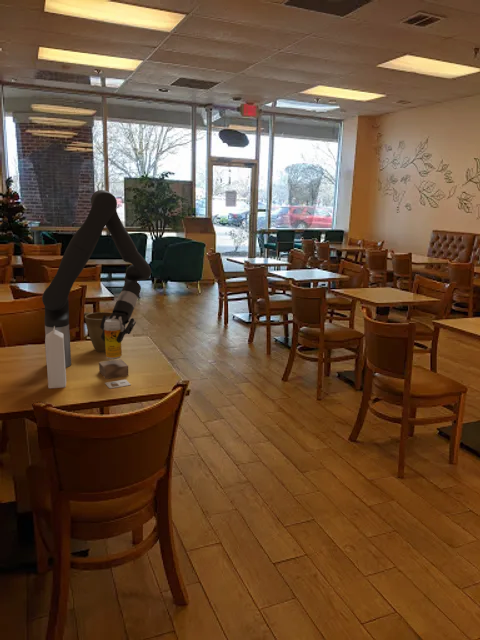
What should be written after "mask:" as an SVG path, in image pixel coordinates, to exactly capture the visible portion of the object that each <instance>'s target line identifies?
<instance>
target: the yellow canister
mask: <svg viewBox="0 0 480 640" xmlns="http://www.w3.org/2000/svg"><path fill="white" fill-rule="evenodd" d="M104 329H105V349H106V351H105V357H106V358H107V359H108V360H119V359H121V357H122V355H123V354H122V341H121V342H120V343H118V342H117V337H118V335H119V333H120V332H121V330H120V329H121V325H120V321H119V320H118V319H108V320H105V323H104Z"/></svg>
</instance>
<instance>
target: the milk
mask: <svg viewBox="0 0 480 640" xmlns="http://www.w3.org/2000/svg"><path fill="white" fill-rule="evenodd" d="M44 338H45V339H44V341H45V342H44V345H45V344H46V350H45V360H46V359H47V364H46V368H47V369H46V370H47V371H46V372H47V373H46V374H47V386H48V387H47V388H48V389H58V388H59V389H60V388H66V387H67V371H66V368H67V367H65V351H64V334H63V333H61V332H59V331H57V330H55V326H54V329H53V331H51V332H50V333H48V334H46V335H45V337H44Z"/></svg>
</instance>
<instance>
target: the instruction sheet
mask: <svg viewBox="0 0 480 640" xmlns="http://www.w3.org/2000/svg"><path fill="white" fill-rule="evenodd" d="M104 385H106V387H107V388H108V389H110V390H111V389H116V388H117V389H118V388H123V387H129V386H131V383H130V382H129V381H128V380H127V378H126V379H120V380H114V381H108V382H104Z"/></svg>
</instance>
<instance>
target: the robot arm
mask: <svg viewBox="0 0 480 640" xmlns="http://www.w3.org/2000/svg"><path fill="white" fill-rule="evenodd" d="M90 205H91V207H90V210H89V213H88V215H87V217H86V219H85V221H84V223H82V225H81V226H80V227H79V228H78V230H77V231H76V232H75V233H74V234H73V236H72V238H71V239H70V241H69V243H68V244H67V246H66V249H65V250H64V253H63V256H62V258H61V260H60V263H59V266H58V269H57V272H56V274H55V275H54V277H53V279H52V280H51V282H50V284H49V285H48V287H46V288H45V290H44V291H43V293H42V296H41V298H42V299H41V301H42V303H43V306H44V332H45V336H46V334H48V333H50V332H51V331H53V329H54V326H55V330H57V331H59V332H61V333H63V334H64V351H65V368H67V367H70V366H71V365H72V354H71V353H72V352H71V351H72V350H71V336H70V334H71V333H70V307H69V306H70V305H69V304H70V303H69V302H70V301H69V295H70V293H71V290H72V288H73V285H74V284H75V282H76V280H77V279H78V277H79V276H80V274H81V273H82V271H83V270H84V268H86V265H87V263H88V262H89V260H90V258H91V257H92V255H93V252H94V251H95V248H96V246H97V243H98V242H99V239H100V237H101V234H102V232H103V231H104V229H105V227H106V228H107V231H108V233H109V234H110V236H111V239H112V241H113V242H114V245H115V247H116V249H117V251H118V253H119V255H120V257H121V259H122V260H123V262H125V263H130V264H131V265H129V266H128V267H127V268H126V270H125V274H124V285H123V286H122V289H121V292H120V293H119V295H118V297H117V300H116V302H115V304H114V305H113V309H112V312H111V313H112V315H111V316H106V315H104V316H103V319H102V322H101V326H100V328H101V329H102V330H103V333H102V335H101V339H102V340H103V341H105V329H104V323H105V320H108V319H118V320H119V321H120V325H121V329H120V330H121V332H120V333H119V335H118V337H117V342H118V343H120V342H121V343H122V341H123V339H124V337H125V335H127V334H128V335H130V334H131V332H132V331H133V329H134V327H135V325H136V323H137V321H136V320H135V319H134V318H133V317H132V315H133V313H134V309H135V307H136V305H137V303H138V299H139V295H140V293H141V290H142V285H141V284H140V283H139V282H140V281H145V280H149V279H150V277H151V275H152V269H151V266H150V264H149V262H148V261H147V260H146V259H145V257H143V255H141V253H140V252H139V251H138V249H137V247H136V244H135V242H134V241H133V239H132V237H131V236H130V234H129V232H128V231H127V229H126V227H125V226H124V224H123V222H122V220H121V218H120V215H119V214H118V211H117V207H118V201H117V198H116V196H115V195H114V194H113V193H111V192H110V191H108V190H105V189H99V190H96V191H94V192H93V193H92V195H91V198H90ZM138 281H139V282H138ZM131 317H132V318H131ZM126 325H127V326H126ZM44 347H45V348H44V349H45V351H46V344H45V343H44ZM45 361H46V363H45V364H46V365H47V359H46V358H45Z"/></svg>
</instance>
